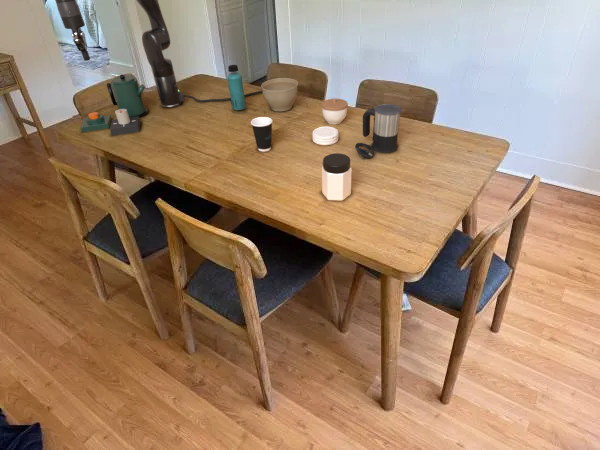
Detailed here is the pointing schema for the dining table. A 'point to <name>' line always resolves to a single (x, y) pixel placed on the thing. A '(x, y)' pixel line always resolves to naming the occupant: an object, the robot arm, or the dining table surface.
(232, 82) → the beverage bottle
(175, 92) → the robot arm
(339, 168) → the jar
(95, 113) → the button
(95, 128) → the switch block
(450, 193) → the dining table surface
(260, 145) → the dixie cup
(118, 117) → the dial
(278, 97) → the planter bowl
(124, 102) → the kettle
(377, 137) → the milk frother
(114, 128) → the dial base
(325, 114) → the trinket box
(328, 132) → the coaster
